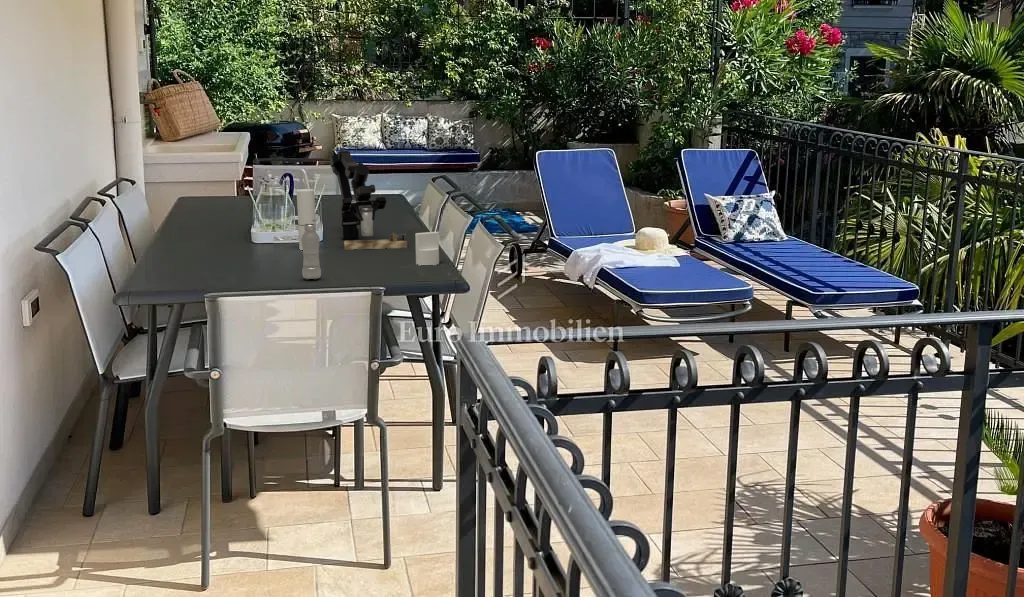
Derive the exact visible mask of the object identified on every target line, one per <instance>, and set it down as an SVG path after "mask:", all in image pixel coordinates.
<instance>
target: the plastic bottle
mask: <svg viewBox="0 0 1024 597" xmlns="http://www.w3.org/2000/svg"><path fill="white" fill-rule="evenodd" d="M304 230H305V232H304V234H303V236H302V238H301V242H302V248H303V251H302V256H303V260H302V261H303V262H302V263H303V264H302V265H303V266H302V271H301V273H302V277H303V279H304V278H305V279H304V280H309V279H314V280H317V279H320V278H321V274H322V269H321V266H320V259H319V256H320V255H319V253H320V241H321V238H320V235H319V234H318V233H317V231H316V232H315V224H305V225H304Z"/></svg>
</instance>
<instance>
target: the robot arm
mask: <svg viewBox="0 0 1024 597" xmlns="http://www.w3.org/2000/svg"><path fill="white" fill-rule="evenodd" d="M329 165H330V168H331V170H332V172H333V174H334V175H335V176H336V177H337V181H338V182H337V183H338V186H339V191H340V196H341V201H340V206H339V207H340V214H339V218H338V225H339V226H340V227H342V240H343V241H352V240H359V235H360V234H359V231H360V230H359V227H358V226H361V221H362V216H361V211H360V207H373V211H372V212H373V221H375V218H376V217H375V216H376V212H377V211H378V210H384V209H385V208H386V204H387V198H386V196H384V195H383V196H376V197H375V200H371V199H372V198H371V197H372V194H375V193H376V187H375V184H369V185H366V182H367V180H368V178H369V177H368V176H369V174H370V168H369V166H367V165H365V164H364V163H363V162H356V161H355V159H354V158H353V156H352V155H351V152H350V151H349V150H339V151H338V152H337V153H335V154H333V155H331V158H330V160H329ZM350 180H351V181H350ZM350 185H351V186H350ZM351 189H352V190H351ZM352 193H353V195H352Z"/></svg>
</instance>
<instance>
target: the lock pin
mask: <svg viewBox="0 0 1024 597" xmlns="http://www.w3.org/2000/svg"><path fill="white" fill-rule="evenodd" d="M388 236H389V239H390V240H393V235H392V234H389V235H388ZM397 240H404V241H407V233H403V234H397Z"/></svg>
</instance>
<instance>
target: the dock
mask: <svg viewBox="0 0 1024 597" xmlns="http://www.w3.org/2000/svg"><path fill="white" fill-rule="evenodd" d="M391 235H393V240H390V239H387V238H385V239H360V240H359V239H357V240H343V243H344V244H343V245H344V247H343V248H344V251H350V250H352V251H355V250H354V249H357V250H378V249H379V250H380V249H381V250H384V249H385V248H387V249H408V241H407V240H406V241H404V240H397V235H398V234H397V232H391Z"/></svg>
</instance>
